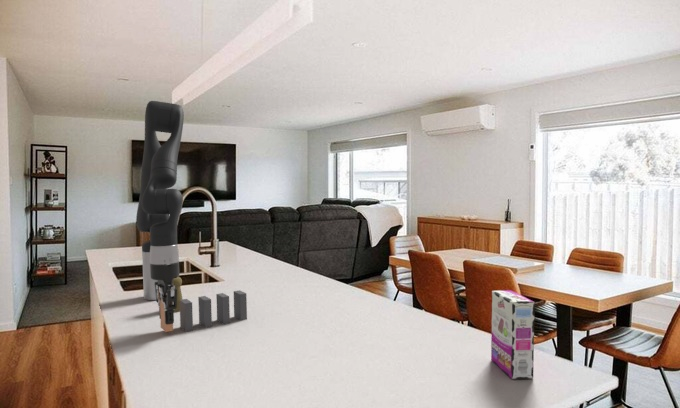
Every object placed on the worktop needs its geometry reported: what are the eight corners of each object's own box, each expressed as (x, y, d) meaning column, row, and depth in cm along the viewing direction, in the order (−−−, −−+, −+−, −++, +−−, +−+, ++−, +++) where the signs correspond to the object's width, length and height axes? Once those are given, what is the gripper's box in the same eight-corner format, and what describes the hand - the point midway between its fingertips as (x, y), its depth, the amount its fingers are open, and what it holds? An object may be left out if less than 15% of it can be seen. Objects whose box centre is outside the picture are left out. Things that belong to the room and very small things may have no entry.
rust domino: (160, 327, 131) (159, 299, 131) (168, 326, 133) (167, 298, 132) (165, 332, 127) (164, 303, 127) (173, 330, 129) (172, 302, 128)
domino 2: (199, 323, 138) (198, 296, 138) (205, 322, 139) (205, 295, 139) (205, 327, 134) (204, 300, 134) (211, 326, 135) (211, 299, 135)
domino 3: (217, 320, 141) (216, 294, 141) (223, 318, 142) (222, 293, 142) (223, 324, 137) (222, 297, 137) (229, 322, 138) (229, 296, 138)
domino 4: (234, 316, 144) (233, 291, 144) (240, 315, 146) (239, 290, 145) (240, 320, 140) (240, 294, 140) (247, 319, 142) (246, 293, 141)
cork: (177, 313, 149) (176, 279, 149) (160, 312, 151) (159, 278, 150) (187, 307, 155) (186, 275, 155) (171, 307, 156) (170, 274, 156)
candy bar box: (535, 379, 97) (536, 301, 96) (512, 380, 96) (512, 302, 96) (511, 358, 108) (511, 288, 107) (490, 359, 108) (490, 289, 107)
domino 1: (180, 327, 135) (179, 299, 134) (187, 325, 136) (186, 298, 136) (185, 331, 131) (185, 303, 130) (192, 330, 132) (192, 302, 131)
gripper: (144, 259, 133) (146, 318, 134) (157, 266, 121) (159, 330, 122) (170, 256, 137) (172, 313, 138) (186, 262, 125) (188, 325, 126)
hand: (166, 321), depth 130 cm, fingers closed on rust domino, 5 cm apart
